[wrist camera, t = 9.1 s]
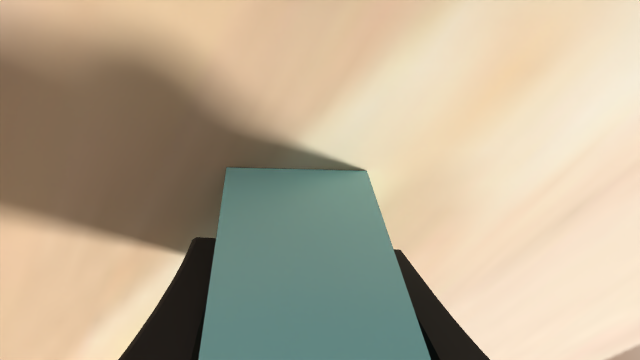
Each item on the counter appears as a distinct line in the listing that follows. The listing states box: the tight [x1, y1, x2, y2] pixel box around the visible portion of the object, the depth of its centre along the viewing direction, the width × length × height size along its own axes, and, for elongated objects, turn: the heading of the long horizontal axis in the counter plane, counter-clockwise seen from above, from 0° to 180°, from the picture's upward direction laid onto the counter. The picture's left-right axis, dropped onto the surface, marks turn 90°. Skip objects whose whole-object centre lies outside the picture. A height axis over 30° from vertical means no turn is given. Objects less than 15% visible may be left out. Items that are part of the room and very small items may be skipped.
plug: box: [198, 167, 431, 360], centre depth 10 cm, size 4×4×7 cm
